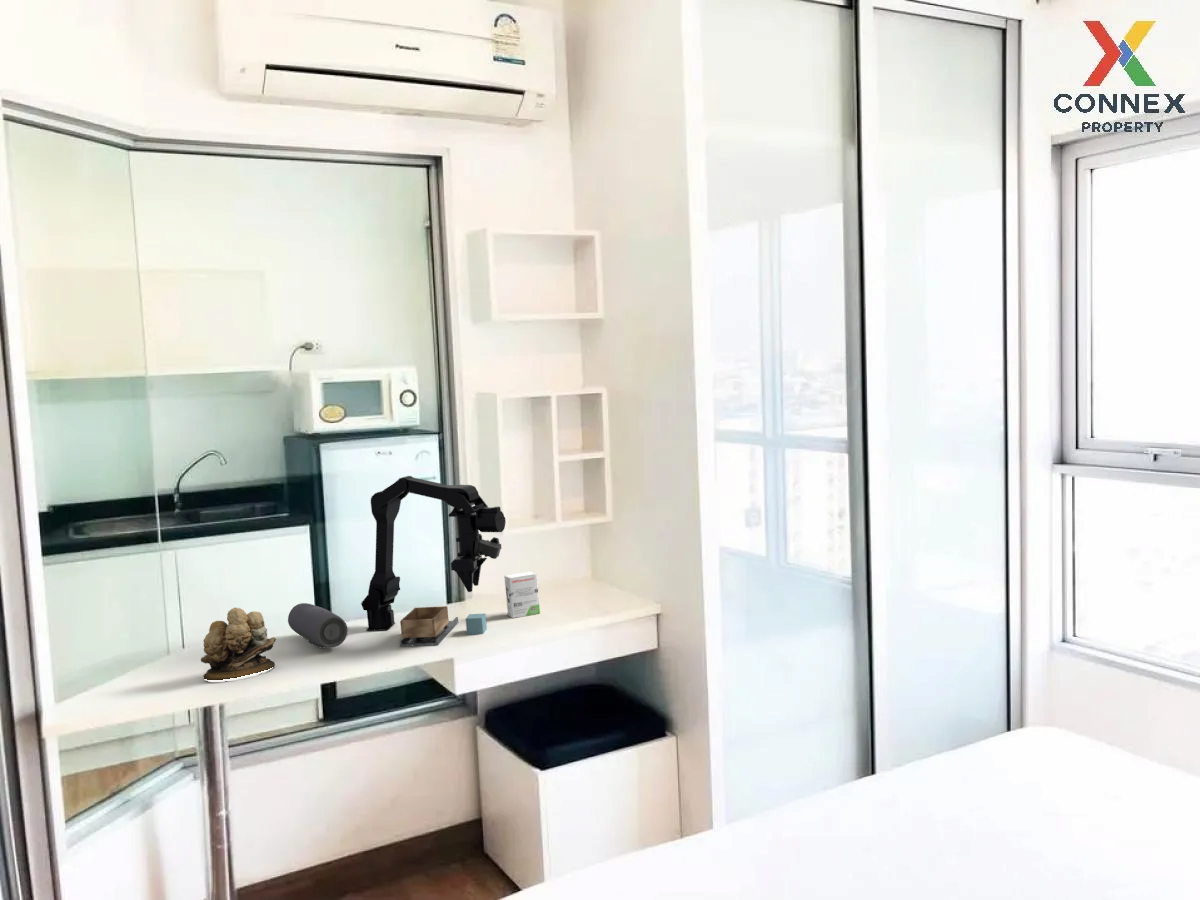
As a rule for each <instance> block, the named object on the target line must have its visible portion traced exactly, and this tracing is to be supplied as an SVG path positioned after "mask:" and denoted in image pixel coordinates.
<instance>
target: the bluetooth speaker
mask: <svg viewBox="0 0 1200 900" xmlns="http://www.w3.org/2000/svg"><path fill="white" fill-rule="evenodd" d="M287 617H288V618H287V623H288V626H289V627H290V629H291V630H292V631H294V632H295V633H296V634H298V635H299V636H300V637H302V638H303V639H304V640H307V641H308V643H309V644H311V645H312V644H313V645H312V646H314V645H315V646H314V647H316V646H317V648H319V647H321V648H320V649H324V648H323V647H325V648H336V647H338V646H340V645H342V644H343V643H344V642H345V640H346V639H347V636H348V632H349V631H348V630H349V629H348V624H347V622H345V620H344V618H342V617H340V616H339V615H337V614H336V613H334V612H332V611H330V610H328V609H326V608H323V607H320V606H318V605H315V604H312V603H306V602H305V603H304V602H303V603H301V602H300V603H298V604H296V605H294V606H293V607H292V608H291V610H290V611H289V613H288V616H287Z"/></svg>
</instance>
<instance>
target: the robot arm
mask: <svg viewBox="0 0 1200 900" xmlns="http://www.w3.org/2000/svg"><path fill="white" fill-rule="evenodd" d="M409 494H414V495H419V496H423V497H427V498H431V499H436V500H440V501H443V503H445V504H447V505H448V506H450V507H452V508H453V509H452V511H450V513H449V514H448V517H449V518H451V517H452V518H456V519H455V520H456V521H455V522H456V530H457V532H456V533H457V536H456V537H455V541H456V543H458V552H457V556H456V557H455V558H454V559H453V560H452V561H451V562H450V568H451V569H450V570H451V571H454V572H455V573H456V575H457V576H458V578H459V580H460V581H461V582H462V584H463V586H464V587H465V589H466V591H467V593H472V592H473V586H475V587H477V586H479V582H480V575H481V570H482V565H483V564H484V563H485V562H486V561H487V559H488V558H487V557H489V558H490V559H492V560H493V559H494V560H495V559H497V558H498V557H500V553H501V550H502V543H500V540H499V537H498V538H497V537H492V538H491V539H490V540H489V539H483V535H482V534H481V533H503V531H505V528H506V521H507V520H506V517H505V515H504V512H503V511H502V510H501V506H493V507H489V506H488V504H486V502H485V501H484V499H483V498H482V497H481V496H480V495H479V491H478V490H477V487H476V486H474V485H471V484H444V483H440V482H437V481H436V482H435V481H430V480H427V479H426V480H425V479H422V478H418V477H413V476H412V475H406V476H403V477H399V478H398V479H397V480H396V481H395V482H394V483H392V484H390V485H389V486H387V487H386V488H384V489H383V490H380V491H377V492H374V494H373V495H371V497H370V509H371V514H372V516H373V518H374V521H375V523H376V524H375V525H376V527H375V529H376V530H375V557H374V558H375V560H374V561H375V562H374V564H375V565H374V573H373V575H372V577H371V579H370V581H369V586H368V592H367V595H366V596H365V597H364V599H363V600H362V601H361V603H360V604H361V607H362V610H363V611H366V615H367V617H366V618H367V625H368V627H367V628H366V629H365V631H367V632H371V631H373V632H374V631H388V630H390V629H391V628H392V627H393V626H395V624H396V622H395V613H394V609H392V604H394V603H395V599H396V597H397V596H398V594H399V591H401V587H400V583H401V582H400V581H401V577H400V576H397V575H396V574H395V572H394V570H393V569H394V540H395V539H394V535H395V521H396V518H397V516H398V515H399V512H400V508H401V502H402V500H403V499H405V498H406V497H407V496H408V495H409ZM483 556H484V557H483Z"/></svg>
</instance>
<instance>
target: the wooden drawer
mask: <svg viewBox="0 0 1200 900" xmlns="http://www.w3.org/2000/svg"><path fill="white" fill-rule="evenodd" d="M448 610H449V609H448V606H447V605H445V606H444V605H443V606H442V605H441V606H425V607H424V606H423V607H420V606H418V607H414V608H413V609H411V611H410V612H408V614H406V615H405V616H404V617H403V618H402V619H401V620H400V621H399V624H400V634H401V639H402V638H404V641H409V639H410V638H413V637H432V640H434V639H436V638H437V635H438V633H439V632H440V631H441V630H442V629H445V628H446V627H447V624H448V623H449V621H450V619H449V611H448Z"/></svg>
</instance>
